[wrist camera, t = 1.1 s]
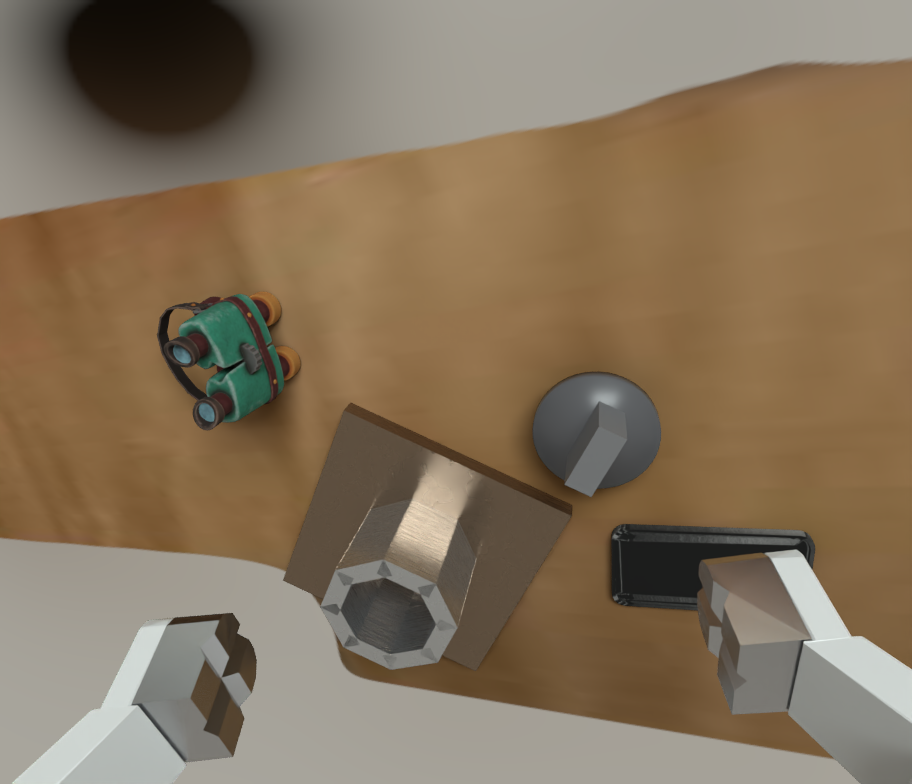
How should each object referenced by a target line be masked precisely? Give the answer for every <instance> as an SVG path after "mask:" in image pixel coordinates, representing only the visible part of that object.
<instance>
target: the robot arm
mask: <svg viewBox="0 0 912 784" xmlns="http://www.w3.org/2000/svg"><path fill="white" fill-rule="evenodd" d="M699 578H700V580H701V583H702V586H703V588H702V589H701V590H700V591H699V592H698V593H697V608H698V615H699V622H700V626H701V629H702V633H703V636H704V639H705V642H706V645H707V648H708V650H709V651H710V652H712V653H713V654H714V655H715V656H717V657H718V658H719V660H718V673H717V675H718V678H719V681H720V683H721V686H722V689H723V692H724V694H725V697H726V700H727V702H728V705H729V708H730V710H731V713H732V714H748V713H766V712H783V711H789V712H788V715H790V716H791V717H792V718H793V719H794V720H795V721H796V722H797V723H798V724H799V725H800V726H801V727H802V728H803V729H804V730H805V731H806V732H807V733H808V734H809V735H810V736H811V737H812V738H814V739H815V740H816V741H817V742H818V743H819V744H820V745H821V746H822V747H823V748H824V749H825V750H826V751H827V752H828V753H829V754H830V755H831V756H832V757H833V758H834V759H835V760H836V761H838V762H839V763H840V764H841V765H842V766H843V767H844V768H845V769H846V770H847V771H848V772H849V773H850V774H851V775H852V776H853V777H854V778H855V779H856V780H857V781H858V782H859V783H861V784H912V669H910V668H909V667H907V666H906V665H904V664H903V663H901V662H900V661H898V660H897V659H895V658H894V657H892V656H891V655H889V654H888V653H886V652H885V651H883V650H882V649H880V648H879V647H877V646H876V645H875V644H873V643H872V642H870V641H869V640H867V639H866V638H864V637H863V636H853V637H852V636H851V635H850V633H849V631H848V630H847V628H846V626H845V625H844V623H843V621H842V620H841V618H840V616H839V615H838V613H837V611H836V609H835V608H834V606H833V604H832V603H831V601H830V599H829V598H828V596H827V594H826V593H825V591H824V589H823V588H822V586H821V584H820V582H819V581H818V579H817V577H816V576H815V574H814V572H813V571H812V569H811V567H810V566H809V564H808V562H807V561H806V559H805V557H804V555H803V554H802V553H800V552H799V551H798V550H787V551H778V552H769V553H764V554H763V553H754V554H746V555H738V556H730V557H722V558H714V559H706V560H701V562H700V564H699ZM239 626H240V624H239V622H238V621H237V619H236V618H235V616H234V615H233V613H226V614H213V615H201V616H189V617H176V618H167V619H156V620H148V621H147V622H146V623H145V624H144V625H143V626H142V627H141V628H140V629H139V631H138V633H137V635H136V637H135V639H134V641H133V643H132V645H131V647H130V649H129V651H128V653H127V656H126V657H125V659H124V661H123V663H122V665H121V667H120V669H119V671H118V674H117V676H116V678H115V680H114V682H113V684H112V686H111V688H110V690H109V692H108V694H107V696H106V698H105V700H104V702H103V704H102V706H101V708H100V709H92V710H91V711H90V712H89V713H88V714H87V715H86V716H85V717H84V718H82V719H81V720H80V721H79V722H78V723H77V724H76V725H75V726H74V727H73V728H72V729H70V730H69V731H68V732H67V733H66V734H65V735H64V736H63V737H62V738H61V739H60V740H58V741H57V742H56V743H55V744H54V745H53V746H52V747H51V748H50V749H49V750H48V751H46V752H45V753H44V754H43V755H42V756H41V757H40V758H39V759H38V760H37V761H36V762H35V763H34V764H32V765H31V766H30V767H29V768H28V769H27V770H26V771H25V772H24V773H23V774H21V775H20V776H19V777H18V778H17V779H16V780H15V781H14V782H13V783H12V784H172V783H173V782H174V781H175V780H176V778H177V777H178V776H179V774H180V773H181V772H182V771H183V769H184V768H185V767H186V763H185V762H193V761H202V760H210V759H219V758H227V757H233V755H234V752H235V748H236V745H237V741H238V737H239V735H240V731H241V728H242V725H243V721H244V716H243V714H242V711H241V709H240V706H241V704H242V703H243V702H244V701H245V700H246V699H247V698H248V697H249V696H250V695H251V693H252V690H253V686H254V682H255V679H256V661H257V660H256V656H255V652H254V648H253V646H252V644H251V642H250V641H249V639H247V638H245V637H243V636H241V635H239V634H238V633H237V632H238V629H239Z"/></svg>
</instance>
